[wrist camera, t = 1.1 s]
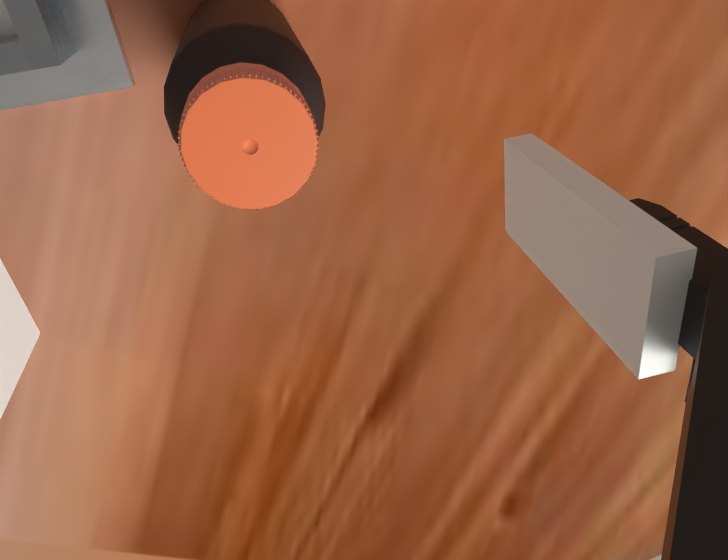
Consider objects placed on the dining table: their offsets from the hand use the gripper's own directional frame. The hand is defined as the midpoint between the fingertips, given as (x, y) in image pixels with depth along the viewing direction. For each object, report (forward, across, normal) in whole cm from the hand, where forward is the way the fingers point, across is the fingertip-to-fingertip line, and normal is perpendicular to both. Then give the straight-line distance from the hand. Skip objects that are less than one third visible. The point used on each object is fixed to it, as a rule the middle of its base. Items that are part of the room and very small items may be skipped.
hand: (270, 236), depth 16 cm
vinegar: (+27, 0, 0) cm, 27 cm away
